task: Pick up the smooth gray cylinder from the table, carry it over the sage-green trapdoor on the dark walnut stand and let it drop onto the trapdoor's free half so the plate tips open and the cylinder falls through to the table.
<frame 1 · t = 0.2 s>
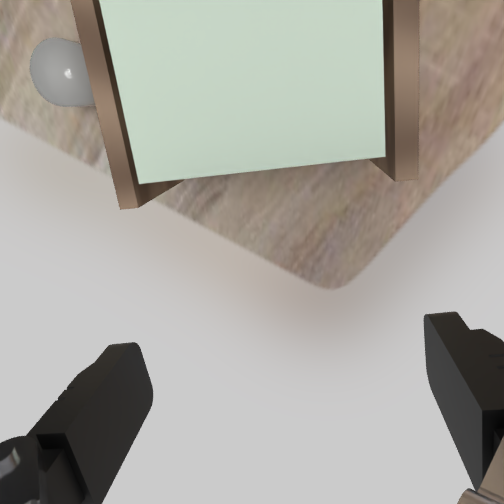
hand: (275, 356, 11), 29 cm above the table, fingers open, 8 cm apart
smooth gray cylinder: (93, 77, 37), on the table
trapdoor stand: (266, 62, 35), on the table
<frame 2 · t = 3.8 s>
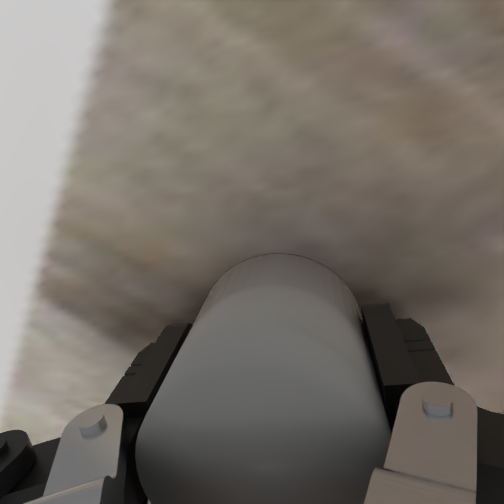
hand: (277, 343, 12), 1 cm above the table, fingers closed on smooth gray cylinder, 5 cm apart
smooth gray cylinder: (280, 328, 13), on the table, touching gripper
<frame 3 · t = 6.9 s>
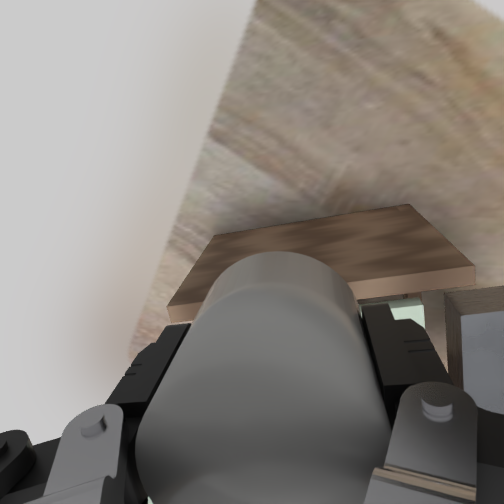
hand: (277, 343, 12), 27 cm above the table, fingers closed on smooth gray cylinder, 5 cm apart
smooth gray cylinder: (280, 325, 13), point 26 cm above the table, touching gripper
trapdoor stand: (313, 303, 41), on the table
trapdoor: (370, 392, 28), point 14 cm above the table, hinge at 0.0°
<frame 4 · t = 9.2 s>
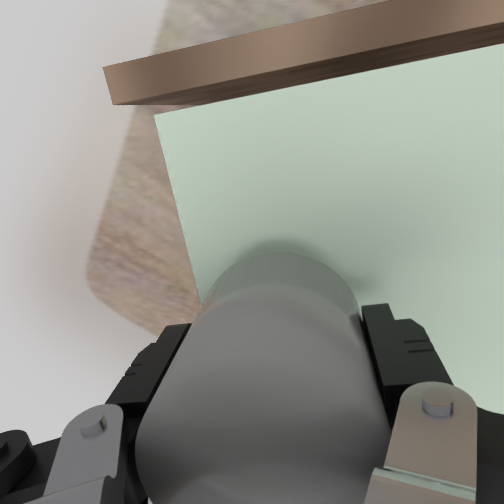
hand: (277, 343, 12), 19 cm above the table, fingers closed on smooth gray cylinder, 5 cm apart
smooth gray cylinder: (280, 326, 13), point 18 cm above the table, touching gripper
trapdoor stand: (346, 193, 29), on the table
trapdoor: (479, 255, 15), point 14 cm above the table, hinge at 0.0°
when the fingers open (19 cm above the table, at t = 9.8 s): smooth gray cylinder drops 12 cm and tips over, point 6 cm above the table.
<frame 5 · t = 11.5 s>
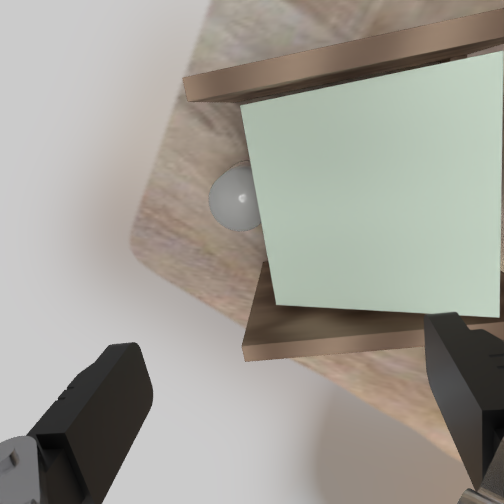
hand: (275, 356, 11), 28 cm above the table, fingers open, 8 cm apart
smooth gray cylinder: (238, 202, 33), point 6 cm above the table, tilted 178°
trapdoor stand: (341, 172, 36), on the table
trapdoor: (429, 196, 24), point 13 cm above the table, hinge at -19.4°
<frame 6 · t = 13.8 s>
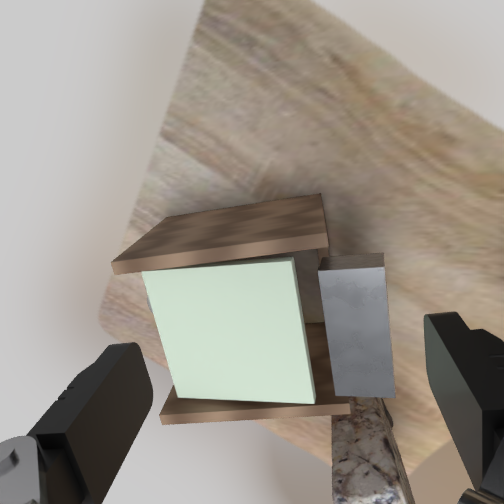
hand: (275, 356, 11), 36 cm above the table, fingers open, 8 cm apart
stone block: (363, 399, 55), on the table
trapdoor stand: (248, 275, 50), on the table
trapdoor: (268, 328, 37), point 13 cm above the table, hinge at -9.1°
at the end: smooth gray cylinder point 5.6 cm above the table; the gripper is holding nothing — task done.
